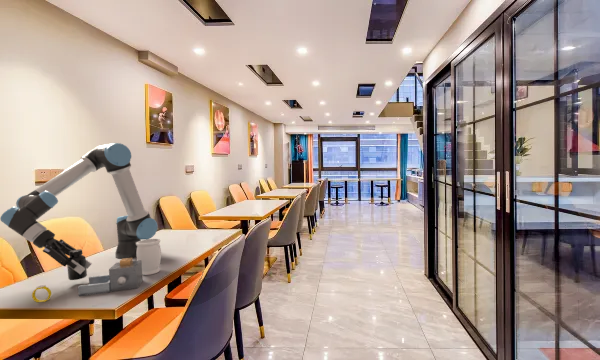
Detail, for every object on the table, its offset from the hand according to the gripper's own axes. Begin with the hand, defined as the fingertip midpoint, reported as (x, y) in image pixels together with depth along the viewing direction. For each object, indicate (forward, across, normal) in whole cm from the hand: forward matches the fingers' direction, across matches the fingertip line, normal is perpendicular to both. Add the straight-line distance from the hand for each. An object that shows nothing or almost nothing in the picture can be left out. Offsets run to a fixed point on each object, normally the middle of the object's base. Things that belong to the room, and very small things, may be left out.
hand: (86, 268), depth 146 cm
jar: (+22, -6, +12) cm, 26 cm away
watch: (-2, +17, -11) cm, 21 cm away
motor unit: (+14, +11, +5) cm, 18 cm away
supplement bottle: (0, 0, -5) cm, 5 cm away
